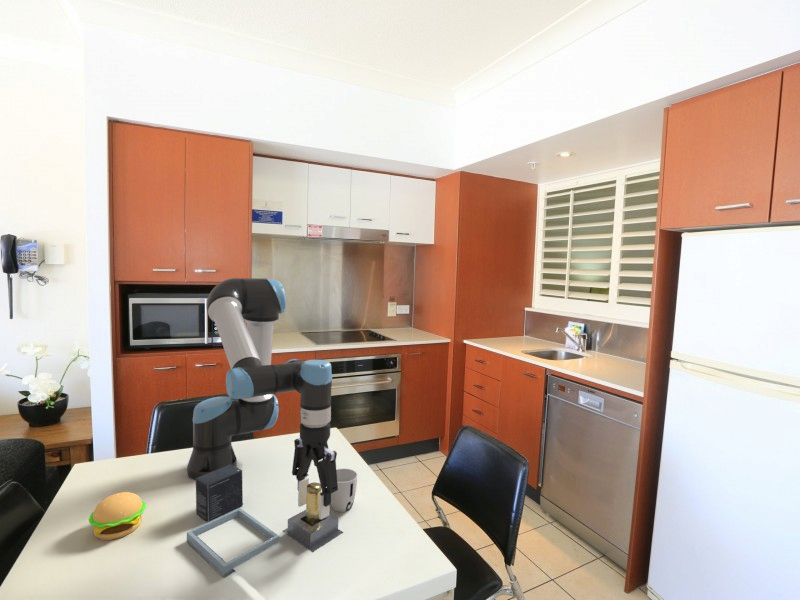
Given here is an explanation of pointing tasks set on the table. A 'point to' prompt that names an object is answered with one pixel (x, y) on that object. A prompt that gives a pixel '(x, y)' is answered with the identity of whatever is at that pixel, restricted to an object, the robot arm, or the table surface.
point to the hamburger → (117, 515)
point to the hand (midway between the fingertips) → (313, 510)
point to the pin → (313, 503)
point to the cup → (344, 490)
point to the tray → (228, 567)
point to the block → (312, 530)
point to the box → (219, 492)
